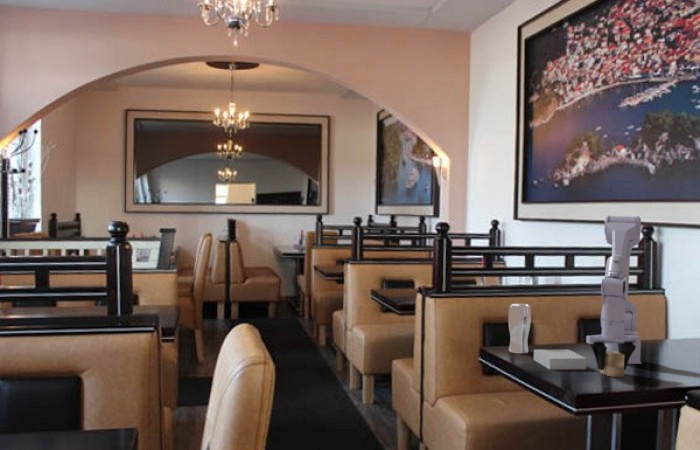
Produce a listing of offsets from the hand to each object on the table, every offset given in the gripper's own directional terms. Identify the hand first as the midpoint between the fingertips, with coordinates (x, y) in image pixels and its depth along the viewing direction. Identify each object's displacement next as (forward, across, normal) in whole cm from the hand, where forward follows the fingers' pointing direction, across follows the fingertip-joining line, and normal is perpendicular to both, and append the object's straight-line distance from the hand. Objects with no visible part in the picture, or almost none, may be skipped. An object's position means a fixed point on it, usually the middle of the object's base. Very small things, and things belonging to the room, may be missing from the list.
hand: (611, 369), depth 170 cm
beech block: (+2, 0, 0) cm, 2 cm away
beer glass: (+2, -16, +27) cm, 31 cm away
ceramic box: (+2, -10, +11) cm, 15 cm away
